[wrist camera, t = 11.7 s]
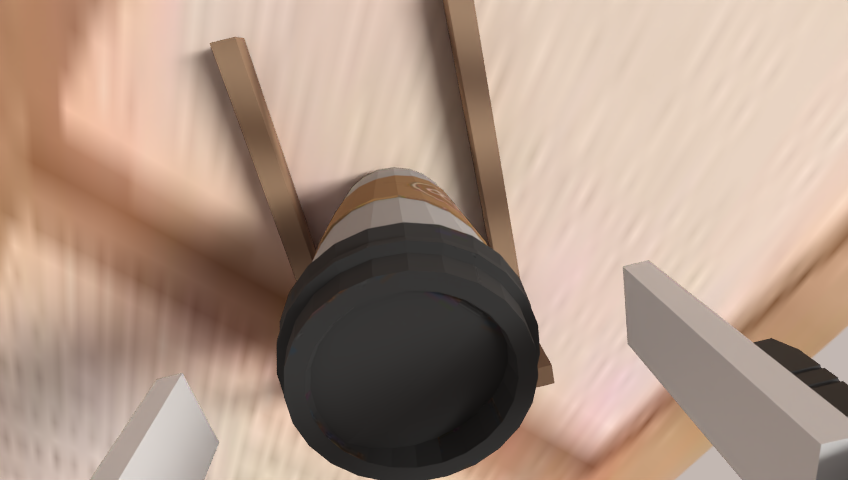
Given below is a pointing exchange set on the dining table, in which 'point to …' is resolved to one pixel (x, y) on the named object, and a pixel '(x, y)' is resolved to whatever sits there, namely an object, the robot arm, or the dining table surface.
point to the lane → (280, 184)
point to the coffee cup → (406, 337)
